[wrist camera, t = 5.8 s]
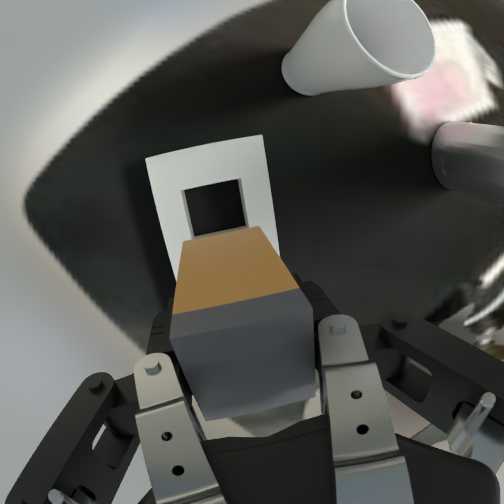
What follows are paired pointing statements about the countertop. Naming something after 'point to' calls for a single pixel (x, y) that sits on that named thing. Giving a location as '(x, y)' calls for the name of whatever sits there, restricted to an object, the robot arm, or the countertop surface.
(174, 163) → the pdu strip
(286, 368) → the plug
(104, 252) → the countertop surface
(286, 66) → the drinking glass
